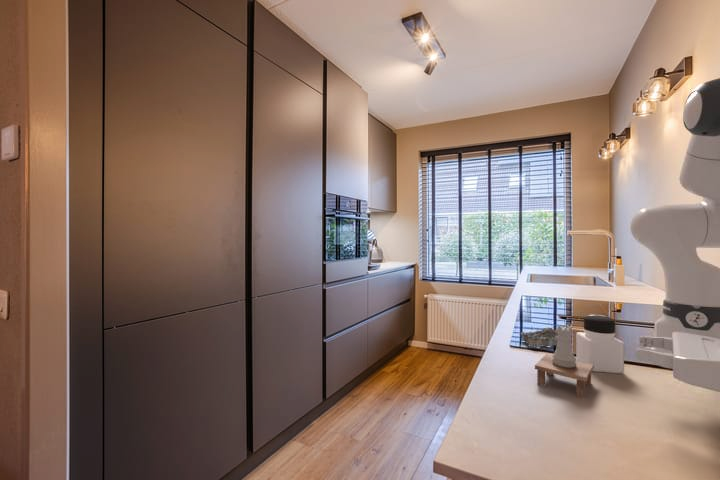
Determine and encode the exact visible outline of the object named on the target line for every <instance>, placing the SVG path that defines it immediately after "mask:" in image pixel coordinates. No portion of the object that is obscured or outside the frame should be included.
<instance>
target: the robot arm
mask: <svg viewBox="0 0 720 480" xmlns="http://www.w3.org/2000/svg"><path fill="white" fill-rule="evenodd" d="M682 111H683V112H682V120H683V126H684V127H685V129H686V130H687V131H688V132H689V133H690V134H692V135H691V137H690V140H689V142H688V145H687V148H686V152H685V156H684V159H683V162H682V166H681V170H680V173H679V178H678V179H679V184H680V185H681V187H682V188H683V189H684V190H686V191H687V192H688V193H691V194H693V195H696V196H699V197H702V198H703V199H702V200H701V202H698V203H690V204H689V203H686V204H684V203H683V204H680V203H679V204H660V205H655V206H650V207H646V208H645V207H644V208H641V209H640V210H638V211H637V212H636V213H635V214H634V215H633V217H632V219H631V222H630V233H631V234H632V237H633V238H634V239H635V240H636V241H637V243H639V244H640V245H642V246H644V247H645V248H646V249H648V250H649V251H650V252H652V254H654V256H655V257H656V259H657V260H658V261H659V263H660V266H661V267H662V271H663V275H664V277H663V278H664V288H665V289H664V290H665V291H664V292H665V298H664V299H663V300H662V301H663V302H662V313H663V315H662V317H660V318H658V319H657V320H655V323H654V326H653V327H654V329H653V331H654V335H653V336H648V335H647V336H646V335H641V336H640V337H639V345H640V346H641V347H637V348H636V350H635V351H636V352H635V357H636V359H637V360H640V361H644V362H650V363H652V364H654V365H657V366H659V367H662V368H666V369H671V370H672V377H673V378H674V379H675V380H678V382H679V381H680V382H682V383H684V384H687V385H690V386H694V387H699V388H701V389H706V390H710V391H712V392H713V391H714V392H718V393H720V267H718V266H717V265H714V264H712V263H710V262H707V261H704V260H702V259H701V257H699V255H698V252H697V248H699V249H720V77H718V78H715V79H711V80H710V81H709V80H708V81H705V82H703V83H700V84H699V85H697V86H696V87H695V88H694V89H693V90H692V91H691V92H690V93H689V94H688V96H687V98H686V101H685V102H684V107H683V110H682Z"/></svg>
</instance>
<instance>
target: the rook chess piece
mask: <svg viewBox="0 0 720 480" xmlns="http://www.w3.org/2000/svg"><path fill="white" fill-rule="evenodd" d="M554 331H556V332H557V333H558V336H557V339H558V342H557V346H556V348H555V351H554V352H553V354H551V355H552V357H553V358H554V359H552V361H553V363H554V364H555V365H557V366H559V367H563V368H574V367H575V366H576V365H577V364H576V363H575V361H577V360H576V356H575V354H574V352H573V348H572V340H573V338H572V335H573V334H574V331H573V330H572V327H571V326H569V325H565V324H562V325H560V324H558V325H557V326H556V328H555V329H554Z"/></svg>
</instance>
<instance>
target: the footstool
mask: <svg viewBox="0 0 720 480" xmlns="http://www.w3.org/2000/svg"><path fill="white" fill-rule="evenodd" d="M552 355H553V354H547V353H545V354H544V356H543V357H541V358H540V360H539V361H538V362H536V363H535V364H534V370H536V371H537V374H536V375H537V379H536V382H537V385H539V386H542V387H545V385H546V375H549V376H553V375H558V376H562V377H566V378H571V379H573V380H576V396H578V397H583V398H585V396H586V385H589V386H591V384H592V372H593V371H592V370H593V369H594V364H590V363H586V362H581V361H577V360H576V361H575V363H576V364H577V365H576V366H575V367H574V368H563V367H559V366H557V365H555V364H554V363H553V361H552V359H554V358H553V357H552Z"/></svg>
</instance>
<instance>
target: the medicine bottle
mask: <svg viewBox="0 0 720 480" xmlns="http://www.w3.org/2000/svg"><path fill="white" fill-rule="evenodd" d="M575 335H576V336H575V337H576V339H575V340H576V343H575V344H576V345H575V346H576V349H575V351H576V352H575V355H576V356H575V358H576V361H581V362H586V363H590V364H594V369H593V370H592V372H596V373H597V372H598V373H611V374H624V373H625V342H623V341H621V340H620V339H618V338H617V337H615V336H616V320H615V319H614V318H612V317H610V316H606V315H602V314H601V315H600V314H588V315H585V316H584V317H583V332H581V331H580V332H579V331H578V332H576V334H575Z"/></svg>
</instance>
